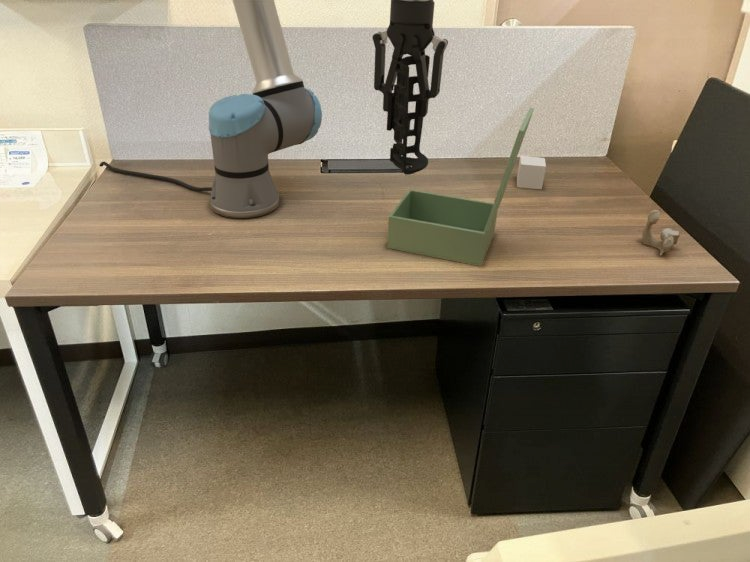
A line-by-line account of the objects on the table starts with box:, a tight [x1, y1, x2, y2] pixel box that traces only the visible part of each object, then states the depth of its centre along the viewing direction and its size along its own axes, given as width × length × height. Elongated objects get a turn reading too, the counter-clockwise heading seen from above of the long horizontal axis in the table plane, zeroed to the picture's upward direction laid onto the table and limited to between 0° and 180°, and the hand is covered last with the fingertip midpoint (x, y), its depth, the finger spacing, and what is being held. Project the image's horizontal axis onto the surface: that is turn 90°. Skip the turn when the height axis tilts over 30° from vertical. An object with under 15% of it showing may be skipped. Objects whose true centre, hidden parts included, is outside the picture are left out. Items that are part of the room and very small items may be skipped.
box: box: [386, 189, 499, 267], centre depth 123 cm, size 19×14×7 cm
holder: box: [389, 54, 431, 176], centre depth 113 cm, size 11×8×20 cm
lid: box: [484, 107, 535, 232], centre depth 112 cm, size 20×14×1 cm
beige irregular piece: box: [641, 209, 681, 257], centre depth 122 cm, size 9×6×10 cm
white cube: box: [516, 155, 547, 190], centre depth 150 cm, size 6×6×6 cm
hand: (403, 130), depth 116 cm, fingers closed on holder, 5 cm apart
